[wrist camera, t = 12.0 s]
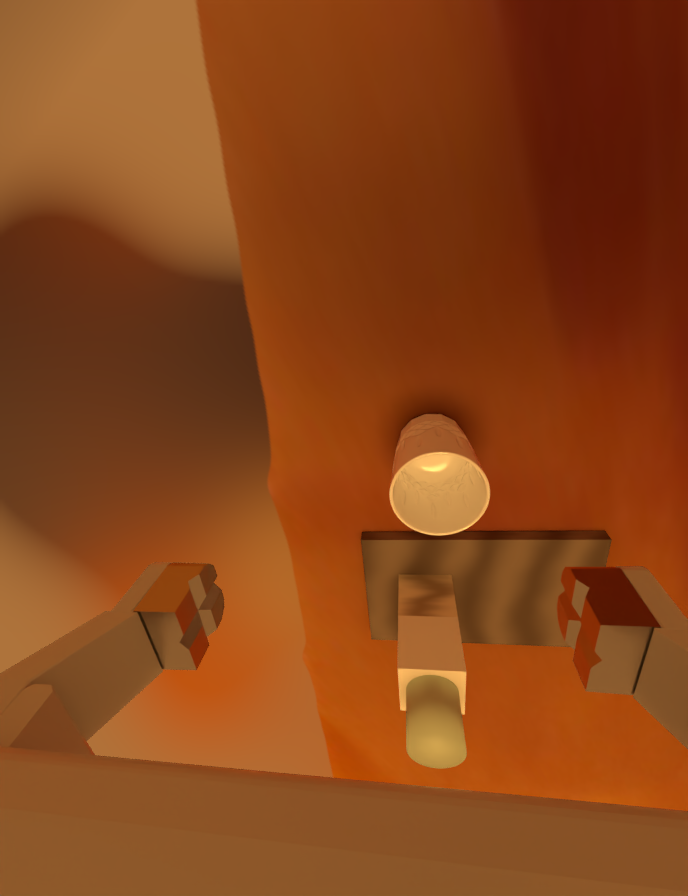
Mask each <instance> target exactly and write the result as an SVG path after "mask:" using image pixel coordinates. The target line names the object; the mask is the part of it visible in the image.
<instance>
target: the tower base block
mask: <svg viewBox="0 0 688 896" xmlns="http://www.w3.org/2000/svg"><path fill="white" fill-rule="evenodd" d="M398 615H399V616H434V617H458V615H457V608H456V602H455V595H454V588H453V582H452V575H400V574H399V593H398Z"/></svg>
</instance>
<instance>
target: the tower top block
mask: <svg viewBox="0 0 688 896" xmlns="http://www.w3.org/2000/svg"><path fill="white" fill-rule="evenodd" d="M423 675H437V676H441V677H444V678H447V679H449V680H450V681H452V682H453V683H454V684H455V685H456V686H457V688H458V690H459V697H460V705H461V713H462V714H465V690H466V667H465V661H464V654H463V648H462V641H461V635H460V628H459V621H458V617H434V616H399V615H398V681H399V695H400V709H401V710H406V687H407V685H408V683H409V682H410V681H411V680H412V679H414V678H416V677H419V676H423Z"/></svg>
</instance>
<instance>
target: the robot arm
mask: <svg viewBox="0 0 688 896" xmlns="http://www.w3.org/2000/svg"><path fill="white" fill-rule="evenodd" d="M216 577H217V574H216V571H215V568H214V566H213V565H211V564H206V563H175V562H173V563H164V562H155V563H152V564H150V565H149V566H148V567H147V568H146V569H145V571H144V572H143V573H142V574H141V576H140V577H139V578H138V579H137V580H136V582H135V583H134V584H133V585H132V587H131V588H130V589H129V590H128V592H127V593H126V594H125V595H124V596H123V598H122V599H121V600H120V601H119V602H118V604H117V605H116V606H115V607H114V609H113V610H112V611H111V612H107V611H106V612H103V613H102V614H100V615H98V616H97V617H95V618H93V619H92V620H90V621H88V622H86V623H85V624H83V625H81V626H80V627H78V628H76V629H75V630H73V631H71V632H70V633H68V634H66V635H64V636H63V637H61V638H59V639H58V640H56V641H54V642H53V643H51V644H49V645H48V646H46V647H44V648H43V649H41V650H39V651H37V652H36V653H34V654H32V655H31V656H29V657H27V658H26V659H24V660H22V661H20V662H19V663H17V664H15V665H14V666H12V667H10V668H9V669H7V670H5V671H4V672H2V673H0V896H688V811H682V810H671V809H660V808H650V807H639V806H628V805H618V804H607V803H597V802H586V801H575V800H565V799H554V798H543V797H533V796H522V795H512V794H501V793H490V792H480V791H469V790H458V789H448V788H437V787H427V786H416V785H405V784H395V783H384V782H373V781H363V780H352V779H341V778H330V777H320V776H309V775H298V774H287V773H276V772H266V771H254V770H244V769H234V768H223V767H212V766H202V765H192V764H180V763H170V762H160V761H149V760H139V759H128V758H118V757H107V756H96V755H95V754H94V753H93V751H92V749H91V748H90V746H89V745H88V743H87V740H88V739H89V738H90V737H91V736H93V734H95V733H96V732H97V731H98V730H99V729H100V728H101V727H102V726H104V725H105V724H106V723H107V722H108V721H109V720H110V719H111V718H112V717H113V716H114V715H115V714H117V713H118V712H119V711H120V710H121V709H122V708H123V707H124V706H125V705H126V704H128V702H130V701H131V700H132V699H133V698H134V697H135V696H136V695H137V694H138V693H140V692H141V691H142V690H143V689H144V688H145V687H146V686H147V685H148V684H149V683H150V682H152V681H153V680H154V679H155V678H156V677H157V676H158V675H159V674H160V673H161V672H162V671H163V670H162V669H171V670H172V669H173V670H197V668H198V666H199V664H200V662H201V660H202V658H203V656H204V654H205V652H206V650H207V648H208V646H209V642H208V639H207V636H209V635H210V634H211V633H213V632H214V631H215V630H216V629H217V628H218V626H219V624H220V622H221V619H222V615H223V610H224V597H223V593H222V590H221V589H220V588H219V587H218V586H217V585H216V584H215V583H214V581H215V579H216ZM561 583H562V585H563V587H564V589H565V591H564V592H563V593H562V594H560V595H559V596H558V602H557V616H558V623H559V627H560V630H561V633H562V636H563V638H564V641H565V642H566V643H567V644H568V645H570V646H571V647H572V648H573V649H574V650H575V651H574V657H573V662H574V665H575V667H576V669H577V672H578V674H579V676H580V679H581V681H582V683H583V686H584V688H585V690H586V691H590V692H602V693H614V694H627V695H634V696H633V698H634V699H635V700H637V701H638V702H639V703H640V704H641V705H642V706H643V707H644V708H645V709H646V710H647V711H648V712H649V713H650V714H651V715H652V716H653V717H654V718H656V719H657V720H658V721H659V722H660V723H661V724H662V725H663V726H664V727H665V728H666V729H667V730H668V731H669V732H670V733H671V734H672V735H673V736H675V737H676V738H677V739H678V740H679V741H680V742H681V743H682V744H683V745H684V746H685V747H686V748H687V749H688V619H687V618H686V617H685V616H684V614H683V613H682V612H681V611H680V609H679V608H678V607H677V605H676V604H675V603H674V602H673V600H672V599H671V598H670V597H669V595H668V594H667V593H666V592H665V590H664V589H663V588H662V586H661V585H660V584H659V583H658V581H657V580H656V579H655V578H654V576H653V575H652V574H651V573H650V571H649V570H648V569H646V568H645V567H643V566H616V567H565V568H564V570H563V571H562V576H561Z"/></svg>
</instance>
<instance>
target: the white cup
mask: <svg viewBox="0 0 688 896" xmlns="http://www.w3.org/2000/svg"><path fill="white" fill-rule="evenodd" d="M489 499H490V487H489V482H488V480H487V477H486V475H485V473H484V471H483V469H482V467H481V465H480V463H479V460H478V458H477V456H476V454H475V452H474V450H473V448H472V446H471V444H470V443H469V441H468V439H467V437H466V436H465V434H464V432H463V431H462V429H461V428H460V427H459V425H458V424H457V423H456V422H455V420H452V419H450V418H448V417H446V416H444V415H442V414H424V415H421V416H419V417H417V418H414V419H412V420H411V421H410V422H409V423H408V424H407V425H406V426H405V427H404V428H403V429H402V430H401V433H400V437H399V440H398V444H397V448H396V452H395V458H394V463H393V470H392V478H391V485H390V502H391V506H392V508H393V511H394V512H395V514H396V515H397V517H398V518H399V519H400V520H401V521H402V522H403V523H404V524H405V525H407V526H408V527H410V528H411V529H413V530H415V531H418V532H420V533H424V534H428V535H438V536H440V535H450V534H454V533H458V532H460V531H463V530H465V529H467V528H469V527H470V526H472V525H473V524H474V523H476V522H477V521H478V520H479V519H480V518H481V516H482V515H483V514H484V512H485V510H486V508H487V506H488V503H489Z"/></svg>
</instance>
